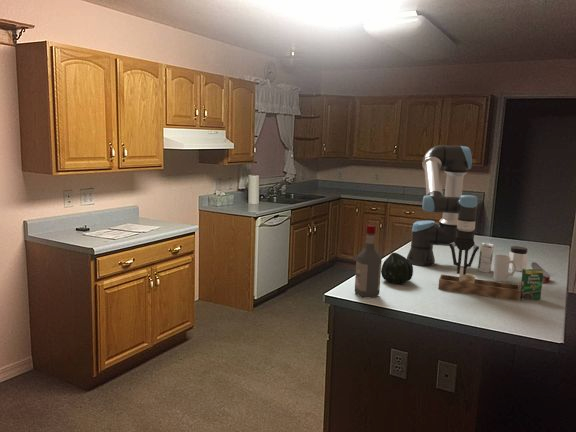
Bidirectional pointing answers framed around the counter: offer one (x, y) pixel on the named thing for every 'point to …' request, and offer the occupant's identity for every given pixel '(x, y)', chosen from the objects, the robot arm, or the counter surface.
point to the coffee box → (531, 284)
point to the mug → (502, 267)
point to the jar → (518, 257)
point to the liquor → (368, 267)
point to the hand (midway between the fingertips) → (460, 280)
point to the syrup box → (485, 257)
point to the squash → (397, 269)
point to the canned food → (545, 274)
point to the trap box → (481, 287)
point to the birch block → (468, 278)
